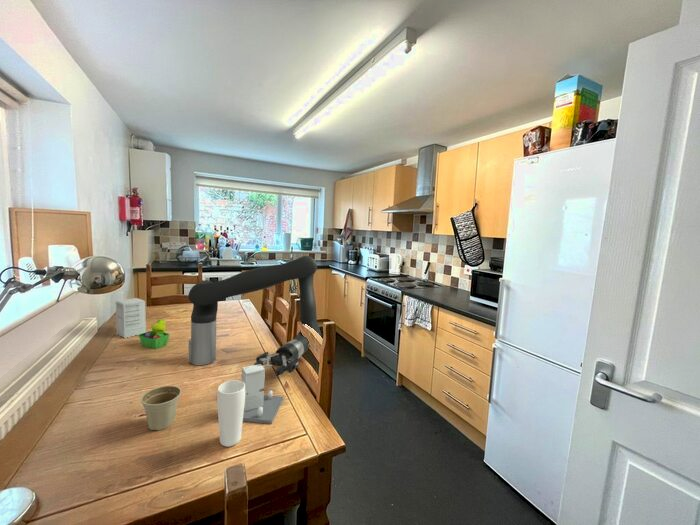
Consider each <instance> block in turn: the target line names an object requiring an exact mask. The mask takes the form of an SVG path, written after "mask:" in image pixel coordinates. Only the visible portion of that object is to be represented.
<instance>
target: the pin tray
mask: <svg viewBox="0 0 700 525" xmlns="http://www.w3.org/2000/svg"><path fill="white" fill-rule="evenodd" d="M273 391H274V390H272V389H269V390H267V394H264V400H263V406H262V407H258V408H255V409H251V410H248V411H244V415H243V422H248V423H260V424H269V425H270V424H273V422H274V420H275V418H276V416H277V414H278V412H279V410H280V408H281V405H282V404H283V402H284V396H278V395H276V396H275V395H273V394H274V393H273Z"/></svg>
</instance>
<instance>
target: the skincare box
mask: <svg viewBox="0 0 700 525" xmlns="http://www.w3.org/2000/svg"><path fill="white" fill-rule="evenodd" d="M241 368H242V369H241V381H242V382H244V383H245V406H244V411H248V410H251V409H255V408H258V407H262V406H263V400H264V395H265V380H266V379H265V377H266V376H265V374H266V369H265V366H262V365H261V364H259V365H254V364H253V365H249V366H244V367H241Z"/></svg>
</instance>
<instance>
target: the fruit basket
mask: <svg viewBox="0 0 700 525" xmlns="http://www.w3.org/2000/svg"><path fill="white" fill-rule="evenodd" d="M166 325H167V323H166V321H165V319H162V318H161V319H160V318H159V319H158V320H157V321H156V323H153V325H151V329H152V330H150V331H149V330H148V331H146V333H142V334H139V335H137V336H138V338H139V339H140V342H141V346H143V345H145V346H144V347H147V348H150V349H153V348H154V349H153V350H156V349H159V348H163V347H165V346H167V345H168V340H169V337H170V336H171V334H170V333H167V332H165V331H166V327H167V326H166Z"/></svg>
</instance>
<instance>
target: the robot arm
mask: <svg viewBox="0 0 700 525" xmlns="http://www.w3.org/2000/svg"><path fill="white" fill-rule="evenodd" d="M317 269H318V264H317V261H316V260H315V258H313V257H312V256H310V255H302V256H300V257H298V258H296V259H293V260H290V261H287V262H285V263H279V264H273V265H267V266H266V265H265V266H259V267H256V268H251V269H248V270H245V271H242V272H239V273H237V274H235V275H233V276H229V277H228V278H226V279H223V280H217V281H211V280H201V281H199V282H197V283H196V284H194V285H193V286H192V287H191V288H190V290H189V292H188V300H189V302H190V303H192V304H193V307H192V311H191V316H190V339H188V363H190V364H192V365H194V366H205V365H209V364H212V363H214V362H215V361H216V359H217V315H218V308H219V306H218V304H219V301H222V300H224V299H228V298H231V297H236V296H241V295H245V294H249V293H254V292H257V291H262V290H265V289H268V288H271V287H274V286H276V285H279V284H282V283H285V282H287V281H292V280H297V279H298V280H297V281H298V288H299V289H298V290H299V313H300V314H299V315H300V318H299V319H300V324H301V325H303V324H304V325H303V326H305V324H307V325H308V326H310V327H311V328H313V329H314V330H315V331H316V332H317V333H319V335H320V336H322V337H323V335H322V332H321V329H320V326H319V322H318V318H317V306H316V297H315V291H314V276H315V273H316V272H317ZM303 300H304V301H303ZM308 326H307V327H308ZM308 344H309V341H308V339H307V338H306V337H304V336H303V335H302V333H301V330H299V331H298V333H297V335H296V336H295V338H293V339H292V340H290V341H288V342H286V343H284V344H283V345H282V346H280V347H278V349H277V350H276V351H275V353H272V354H269V352H268V351H266V352H263V353H261V354H260V355H258V356H257V357H255V358H256V359H255V362H254V364H253V365H259V364H261V365H262V366H263V367H278V368H276V370H275V377H280V376H282V375H283V374H284V373H287V372H288V373H290V374H291V373H292V372H294V371H295V370H296V369H297V368H298V367H299V359H300V358H301V356H302V355H303V354H304V353H306V352H308V350H309V348H310V346H308Z"/></svg>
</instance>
